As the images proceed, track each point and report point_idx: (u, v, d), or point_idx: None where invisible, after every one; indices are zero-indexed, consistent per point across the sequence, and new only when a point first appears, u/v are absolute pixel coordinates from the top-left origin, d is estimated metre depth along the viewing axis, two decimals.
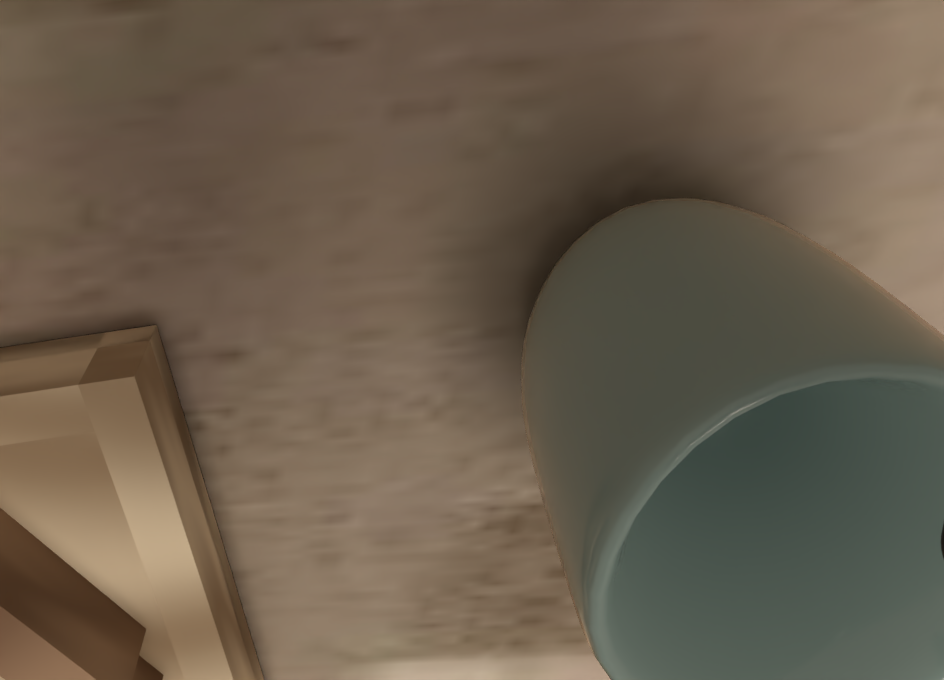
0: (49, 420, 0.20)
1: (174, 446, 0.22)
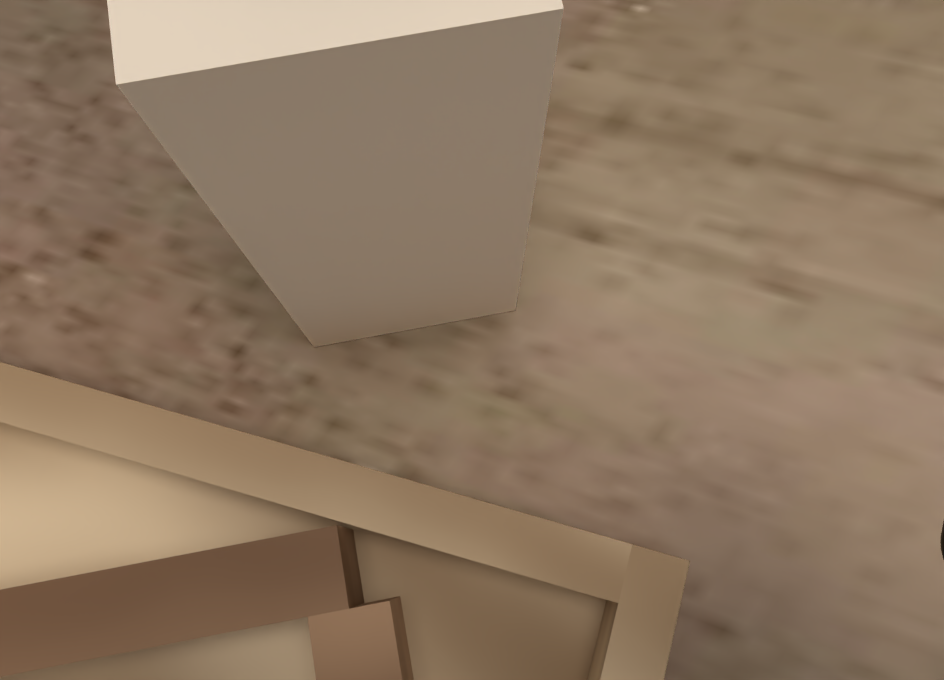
0: (582, 569, 0.18)
1: None
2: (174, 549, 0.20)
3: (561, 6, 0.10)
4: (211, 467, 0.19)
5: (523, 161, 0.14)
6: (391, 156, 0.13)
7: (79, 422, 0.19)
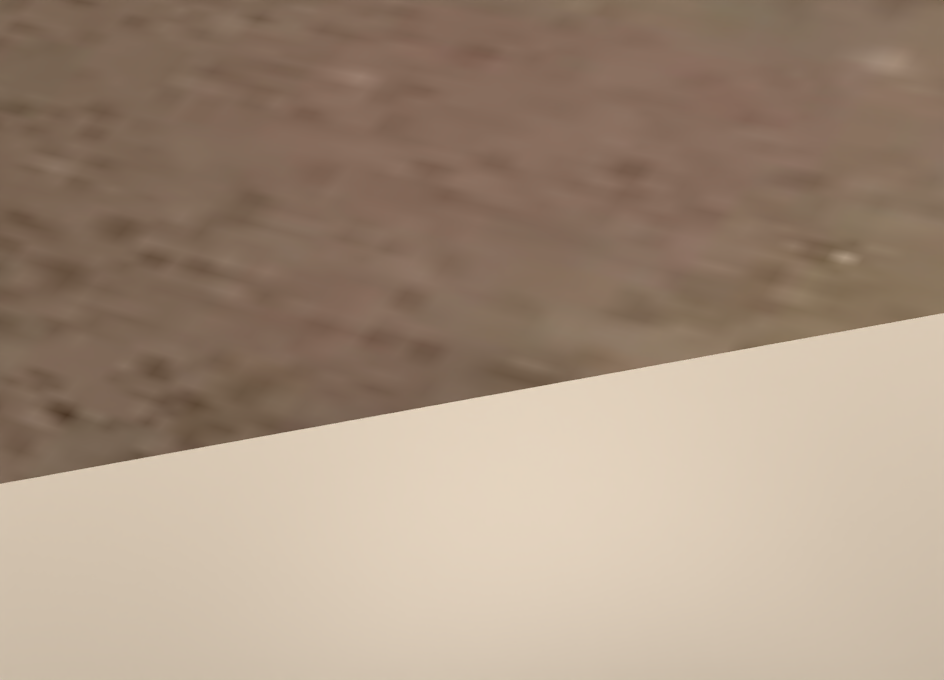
0: None
1: None
2: None
3: None
4: None
5: None
6: None
7: None
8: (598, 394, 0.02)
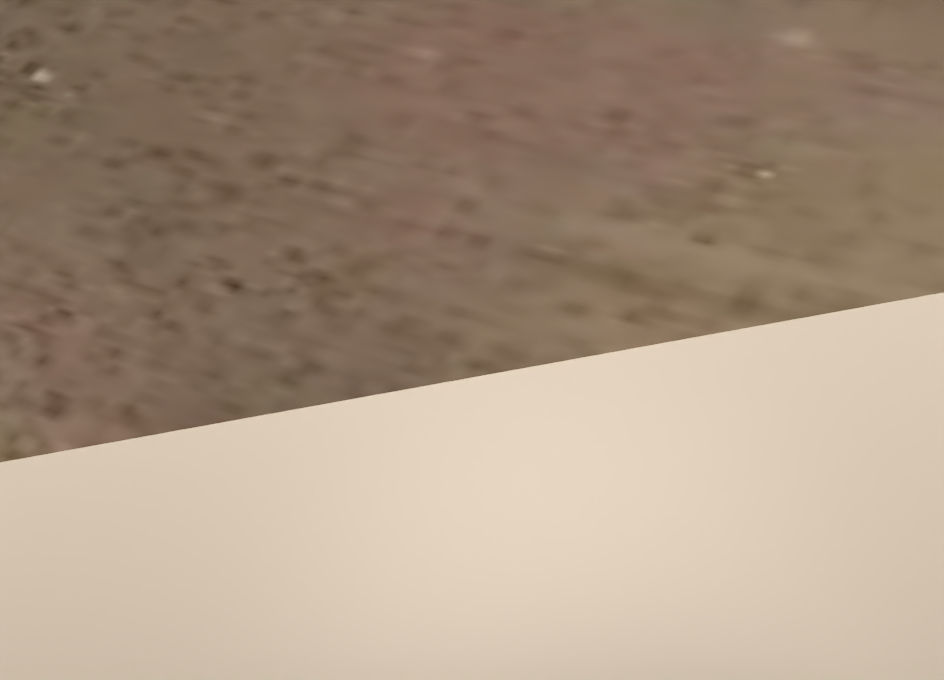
0: None
1: None
2: None
3: None
4: None
5: None
6: None
7: None
8: (598, 372, 0.02)
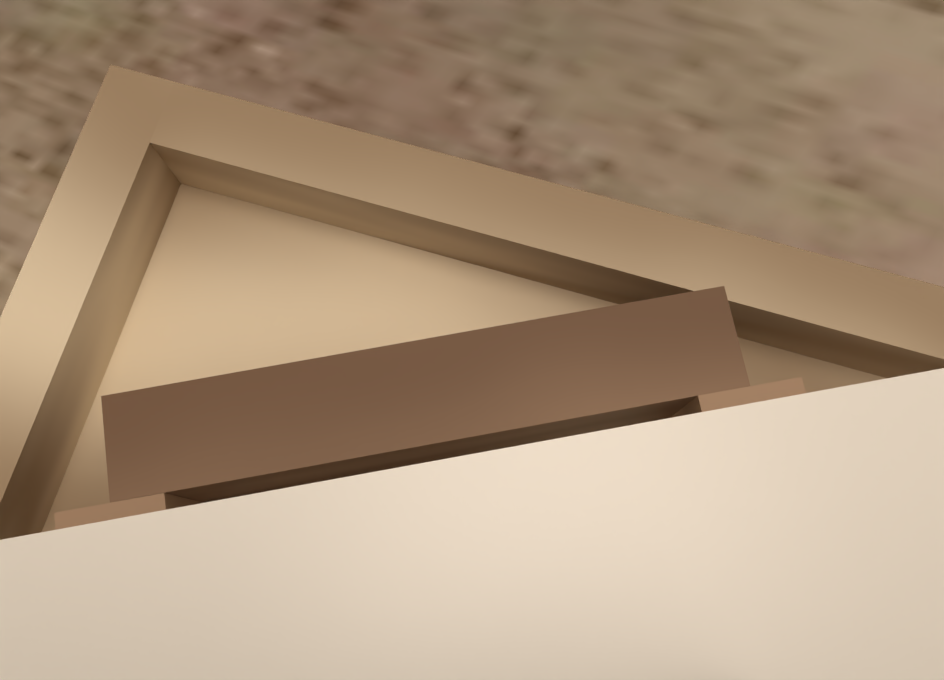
0: None
1: None
2: None
3: None
4: (540, 229, 0.15)
5: None
6: None
7: (371, 176, 0.15)
8: (569, 449, 0.03)
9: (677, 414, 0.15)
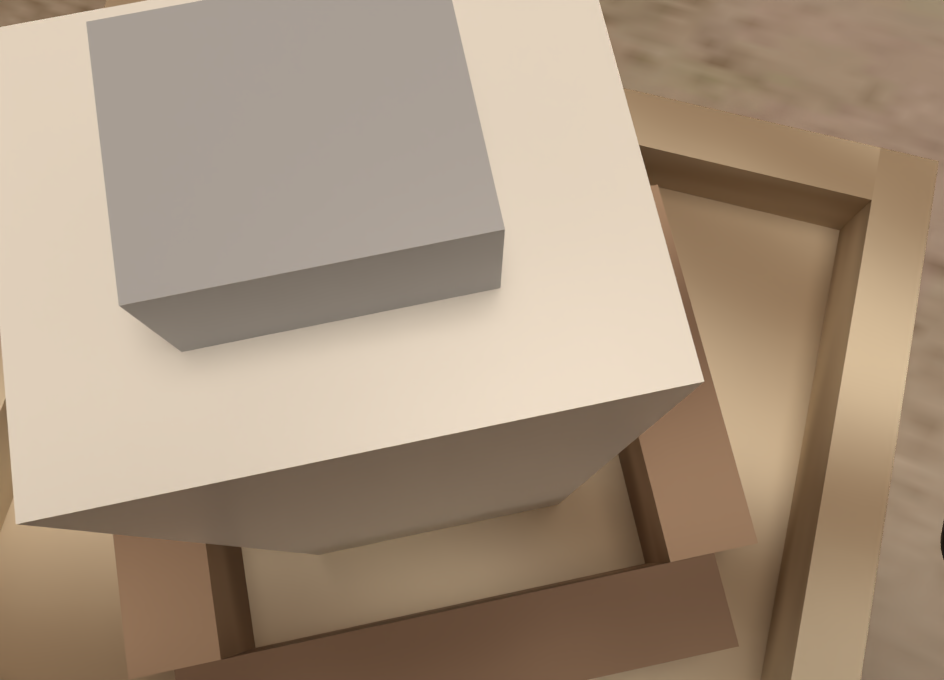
0: (834, 170, 0.19)
1: None
2: None
3: (703, 378, 0.07)
4: None
5: (601, 455, 0.10)
6: (428, 482, 0.09)
7: None
8: None
9: None
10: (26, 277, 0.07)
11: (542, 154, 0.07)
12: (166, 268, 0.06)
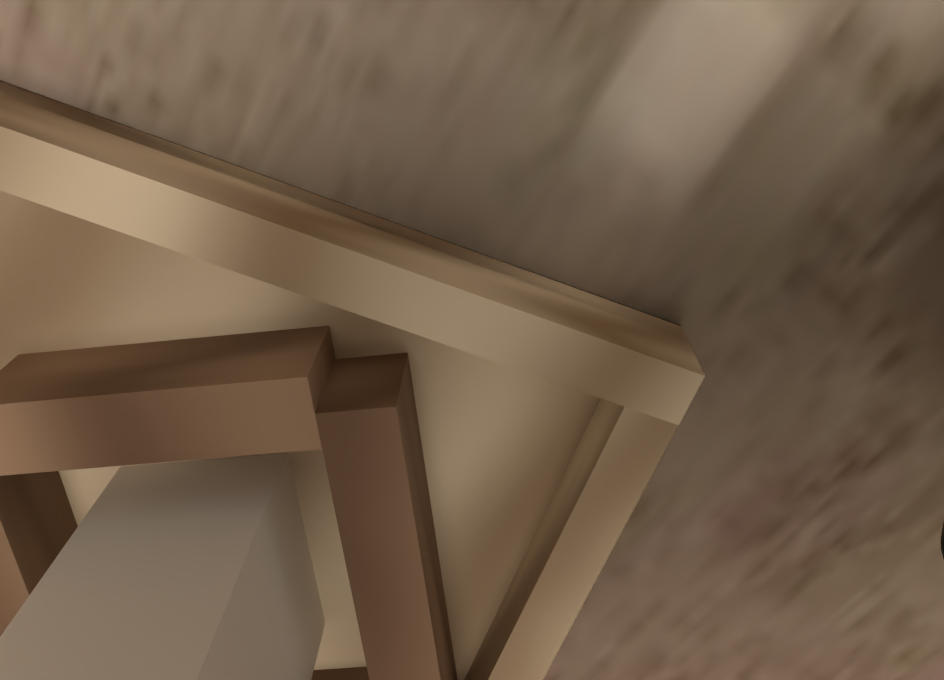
0: None
1: (59, 125, 0.17)
2: None
3: None
4: None
5: None
6: None
7: None
8: None
9: None
10: None
11: None
12: None
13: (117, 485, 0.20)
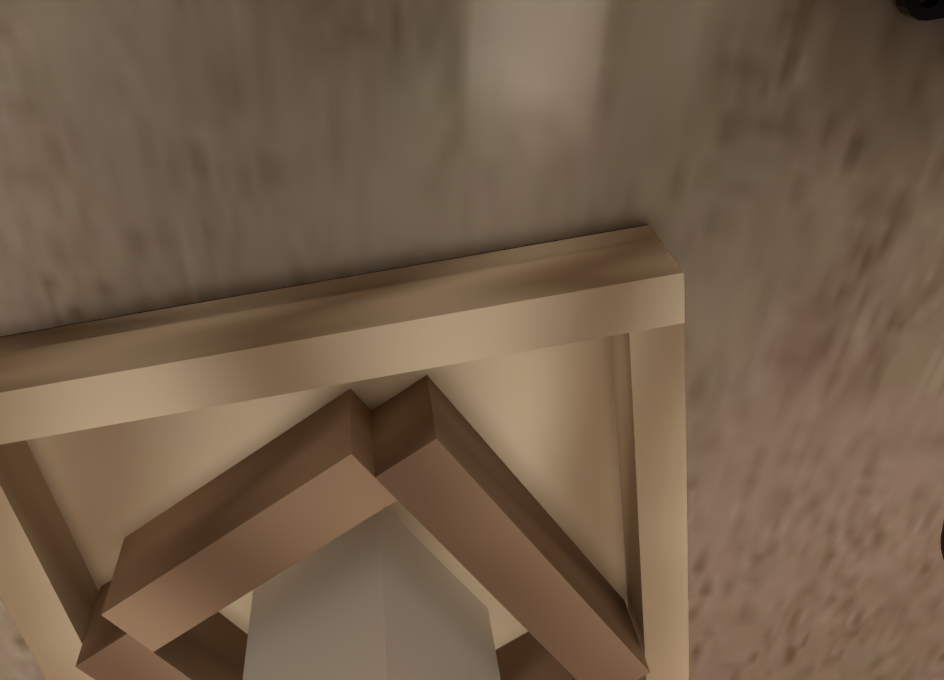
0: None
1: (42, 359, 0.19)
2: None
3: None
4: None
5: None
6: None
7: None
8: None
9: None
10: None
11: None
12: None
13: (259, 596, 0.23)
